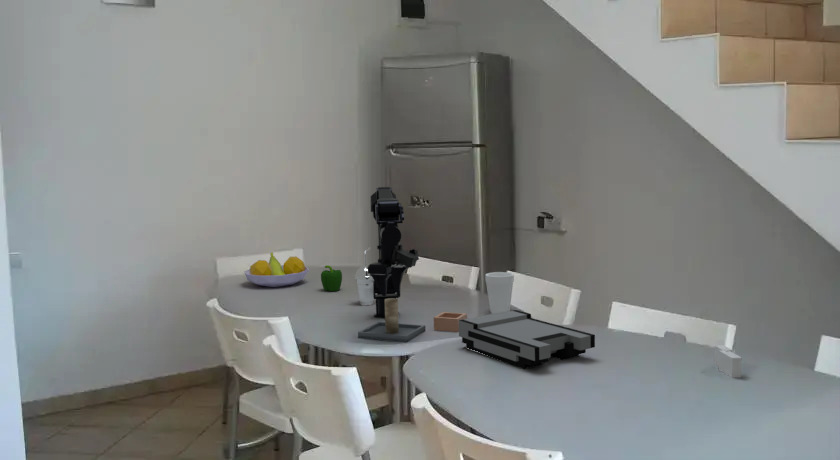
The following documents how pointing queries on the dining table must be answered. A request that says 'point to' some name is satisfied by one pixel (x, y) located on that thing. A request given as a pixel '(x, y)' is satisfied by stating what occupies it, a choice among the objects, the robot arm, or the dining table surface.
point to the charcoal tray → (379, 333)
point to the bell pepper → (331, 279)
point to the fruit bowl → (276, 272)
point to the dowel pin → (391, 315)
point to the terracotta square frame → (448, 321)
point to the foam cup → (499, 291)
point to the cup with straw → (364, 284)
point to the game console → (522, 338)
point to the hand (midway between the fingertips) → (390, 293)
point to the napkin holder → (728, 361)
